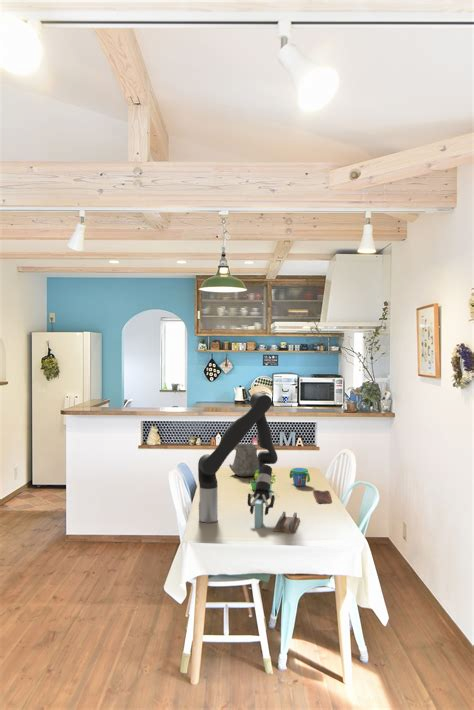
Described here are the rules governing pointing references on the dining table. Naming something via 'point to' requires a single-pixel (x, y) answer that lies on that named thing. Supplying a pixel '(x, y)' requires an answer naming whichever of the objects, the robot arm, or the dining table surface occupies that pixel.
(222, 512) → the dining table surface
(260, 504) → the door panel
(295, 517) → the track board
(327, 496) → the wooden tablet
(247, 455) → the vessel
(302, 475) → the snack cup
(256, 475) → the green potted plant
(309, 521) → the dining table surface
